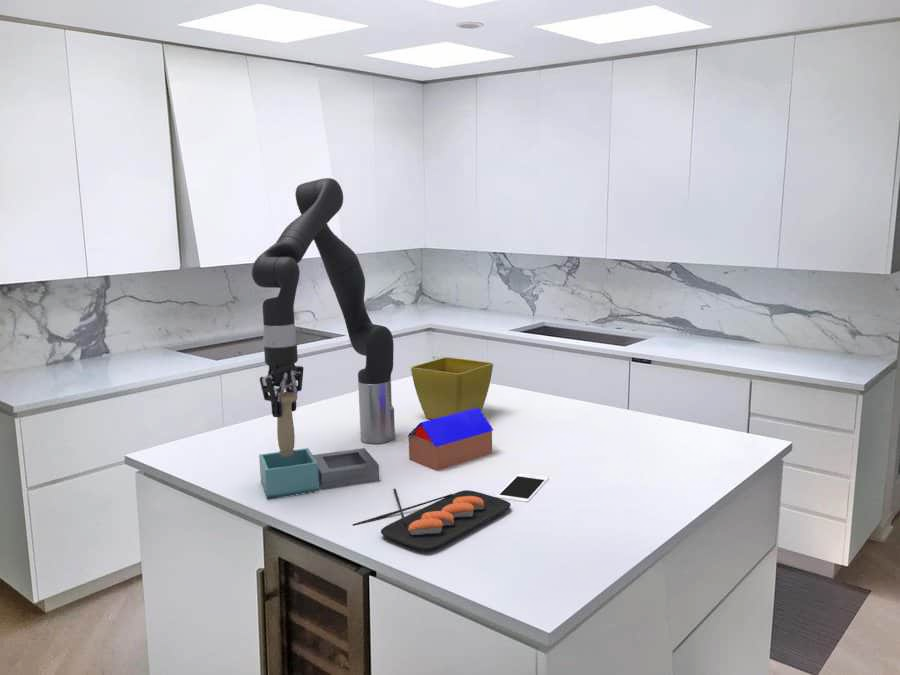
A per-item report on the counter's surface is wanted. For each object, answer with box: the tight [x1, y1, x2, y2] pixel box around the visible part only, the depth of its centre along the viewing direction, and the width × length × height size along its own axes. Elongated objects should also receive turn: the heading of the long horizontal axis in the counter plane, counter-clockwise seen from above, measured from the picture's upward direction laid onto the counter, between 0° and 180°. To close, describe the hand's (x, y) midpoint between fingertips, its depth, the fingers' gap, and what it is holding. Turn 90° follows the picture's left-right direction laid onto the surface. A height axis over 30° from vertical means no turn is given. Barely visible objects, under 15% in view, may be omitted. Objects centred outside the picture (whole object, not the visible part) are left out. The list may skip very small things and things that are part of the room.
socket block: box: [312, 447, 380, 490], centre depth 188 cm, size 14×14×4 cm
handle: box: [275, 391, 298, 457], centre depth 179 cm, size 5×6×15 cm
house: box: [407, 408, 494, 472], centre depth 199 cm, size 12×20×12 cm, turn 131°
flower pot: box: [410, 356, 494, 420], centre depth 236 cm, size 19×19×17 cm
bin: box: [258, 447, 320, 500], centre depth 181 cm, size 12×12×7 cm
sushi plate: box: [352, 488, 511, 551], centre depth 164 cm, size 29×30×4 cm
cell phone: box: [495, 473, 550, 503], centre depth 178 cm, size 8×16×1 cm, turn 155°
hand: (284, 413), depth 178 cm, fingers closed on handle, 5 cm apart
